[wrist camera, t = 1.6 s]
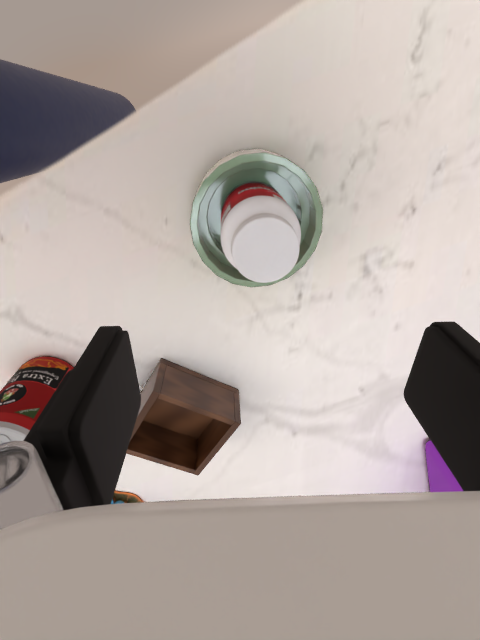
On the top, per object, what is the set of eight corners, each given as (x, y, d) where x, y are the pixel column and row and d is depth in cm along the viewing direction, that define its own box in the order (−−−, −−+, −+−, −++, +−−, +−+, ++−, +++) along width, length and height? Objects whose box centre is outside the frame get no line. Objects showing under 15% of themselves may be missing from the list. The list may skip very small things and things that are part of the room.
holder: (128, 414, 45) (116, 450, 40) (161, 357, 41) (153, 390, 36) (200, 439, 49) (198, 475, 44) (238, 389, 44) (241, 423, 39)
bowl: (175, 234, 33) (168, 250, 29) (231, 121, 28) (233, 121, 24) (268, 284, 36) (275, 305, 32) (332, 191, 32) (349, 201, 27)
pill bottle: (294, 193, 31) (327, 224, 22) (269, 252, 34) (288, 302, 25) (232, 169, 30) (238, 191, 20) (212, 233, 33) (209, 278, 23)
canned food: (71, 350, 40) (24, 422, 30) (93, 399, 44) (58, 475, 34) (8, 358, 40) (-59, 431, 30) (36, 406, 44) (-15, 483, 34)
